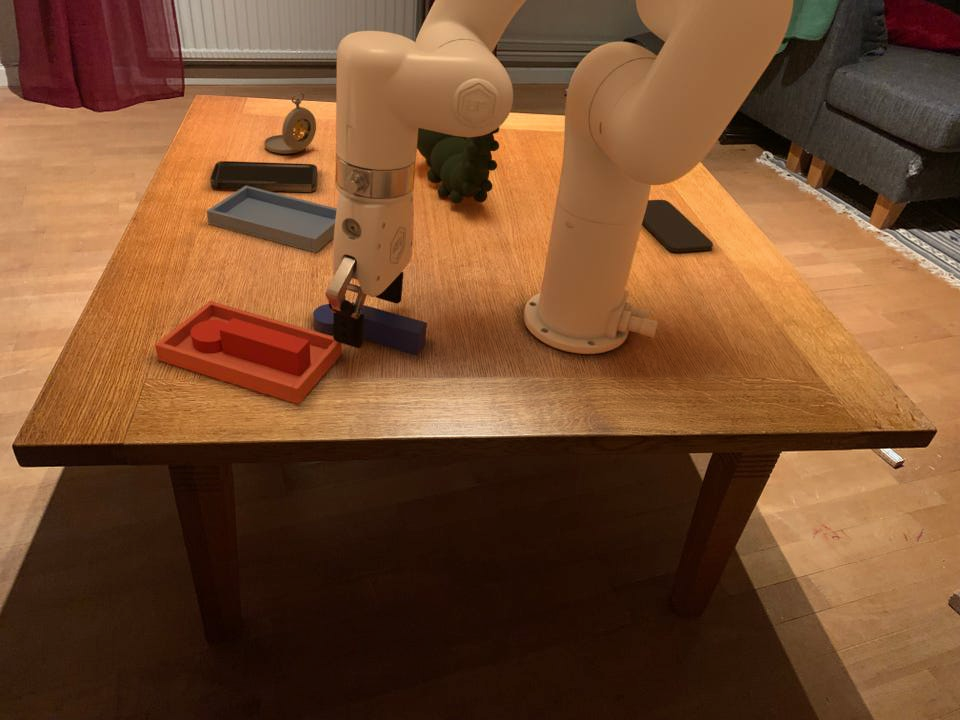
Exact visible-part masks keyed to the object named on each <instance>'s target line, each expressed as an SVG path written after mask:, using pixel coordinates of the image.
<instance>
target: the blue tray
mask: <svg viewBox="0 0 960 720" xmlns="http://www.w3.org/2000/svg"><path fill="white" fill-rule="evenodd" d="M336 211H337V207H332V206H328V205H325V204H321V203H316V202H313V201H309V200H305V199H301V198H297V197H292V196H289V195H285V194H282V193H281V194H280V193H277V192H274V191H266V190H262V189H258V188H254V187H249V186H244V187H243V188H241V189H240V190H236V191H235V192H233V193H232V194H230V195H229V196H227V197H225V198H224V199H223V200H221V201H219V202H218V203H216V204H215V205H213V206H211V207H210V208H208V209H207V210H206V216H207V217H206V218H207V223H208V225H211V226H213V227H217V228H220V229H221V228H222V229H225V230H229V231H233V232H236V233H240V234H243V235H244V234H245V235H248V236H252V237H256V238H258V239H263V240H266V241H271V242H274V243H278V244H281V245H285V246H289V247H292V248H296V249H301V250H304V251H308V252H311V253H315V254H316V253H318V252H319V251H320V250H321V249H322V248H324V247H325V246H326V245H327V244H328V243H329V242H330V241H331V240H333V239H334V229H335V219H336Z"/></svg>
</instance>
